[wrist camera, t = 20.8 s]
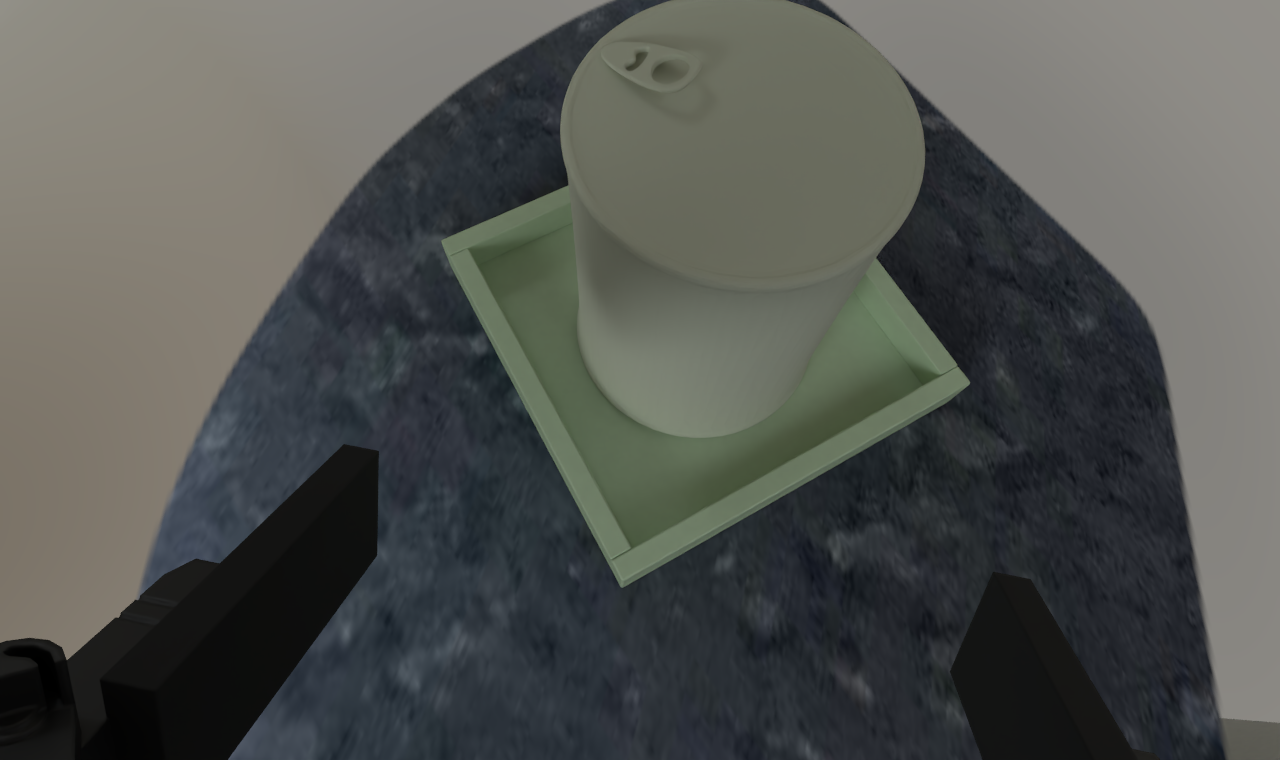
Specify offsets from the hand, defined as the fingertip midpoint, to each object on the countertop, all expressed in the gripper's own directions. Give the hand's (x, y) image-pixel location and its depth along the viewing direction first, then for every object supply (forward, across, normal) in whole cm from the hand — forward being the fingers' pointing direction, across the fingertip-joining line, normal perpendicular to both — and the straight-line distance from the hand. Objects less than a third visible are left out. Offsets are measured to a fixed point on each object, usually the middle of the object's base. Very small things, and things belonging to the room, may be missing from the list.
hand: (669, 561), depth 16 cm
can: (+15, 0, 0) cm, 15 cm away
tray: (+15, 0, 0) cm, 15 cm away
